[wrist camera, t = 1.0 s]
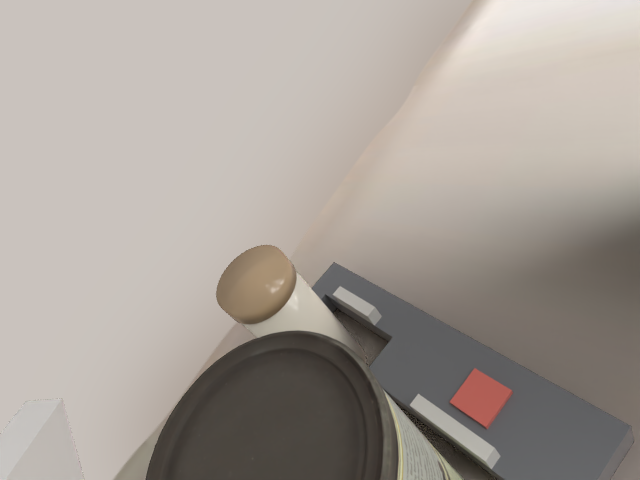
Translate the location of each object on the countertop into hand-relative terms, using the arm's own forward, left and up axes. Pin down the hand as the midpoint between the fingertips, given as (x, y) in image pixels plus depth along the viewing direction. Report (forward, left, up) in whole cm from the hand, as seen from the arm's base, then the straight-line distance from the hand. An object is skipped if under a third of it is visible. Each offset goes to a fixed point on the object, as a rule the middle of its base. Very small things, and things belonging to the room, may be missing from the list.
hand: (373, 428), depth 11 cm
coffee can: (+3, -6, -20) cm, 21 cm away
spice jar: (-2, -17, -20) cm, 26 cm away
